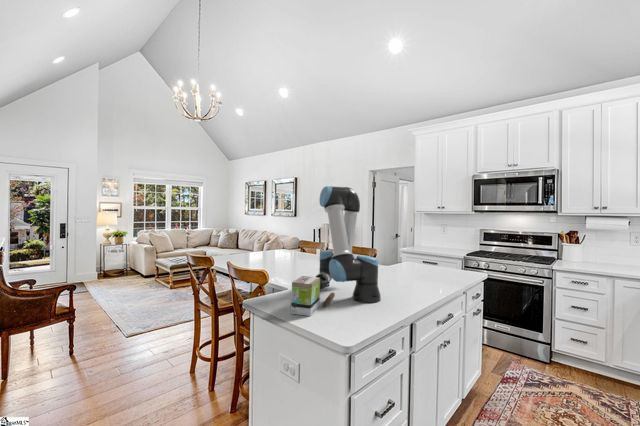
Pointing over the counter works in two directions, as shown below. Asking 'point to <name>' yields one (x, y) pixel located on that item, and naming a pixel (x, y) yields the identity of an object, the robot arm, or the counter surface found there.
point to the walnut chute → (328, 299)
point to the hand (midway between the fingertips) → (310, 290)
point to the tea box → (305, 295)
